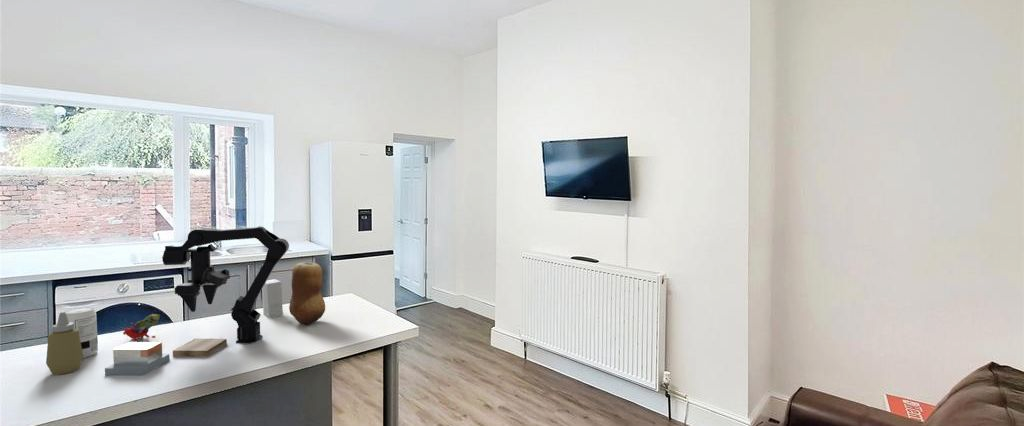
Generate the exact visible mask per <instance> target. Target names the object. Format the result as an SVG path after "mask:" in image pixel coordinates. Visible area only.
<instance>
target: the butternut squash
mask: <svg viewBox="0 0 1024 426" xmlns="http://www.w3.org/2000/svg"><path fill="white" fill-rule="evenodd" d="M291 275H292V276H291V291H292V292H291V298H290V301H289V305H288V309H289V314H290V315H291V316H292V317H293V318H294V319H295V320H296V322H297V323H299V324H300V325H302V326H309V325H312V324H313V323H315V322H317V321H318V320H319V319H321V318H322V317H323V315H324V314H325V312H326V302H325V299H324V297H323V295H322V286H323V278H324V277H323V269H322V267H321V265H320V264H319V263H316V262H298V263H296V264H295V266H293V268H292V271H291Z"/></svg>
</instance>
